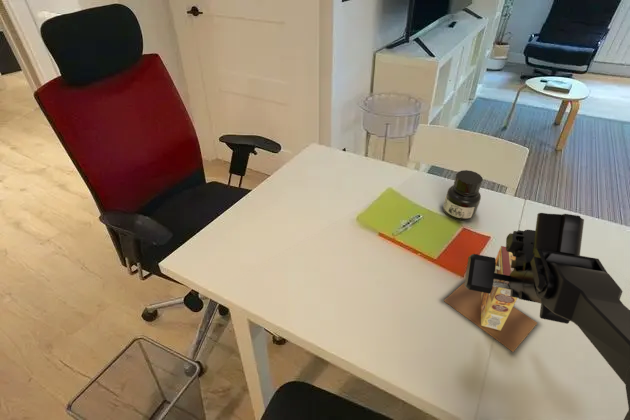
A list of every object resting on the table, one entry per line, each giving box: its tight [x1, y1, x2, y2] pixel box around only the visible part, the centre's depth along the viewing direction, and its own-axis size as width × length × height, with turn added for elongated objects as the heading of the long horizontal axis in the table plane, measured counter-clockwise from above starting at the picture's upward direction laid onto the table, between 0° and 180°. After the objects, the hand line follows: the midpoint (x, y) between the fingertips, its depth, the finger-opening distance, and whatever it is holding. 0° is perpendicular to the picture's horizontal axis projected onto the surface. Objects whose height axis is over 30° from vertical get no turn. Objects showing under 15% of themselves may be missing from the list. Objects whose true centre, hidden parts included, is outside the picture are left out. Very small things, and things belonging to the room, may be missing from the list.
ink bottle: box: [442, 169, 484, 222], centre depth 103 cm, size 10×9×12 cm
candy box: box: [481, 245, 518, 331], centre depth 75 cm, size 9×4×15 cm, turn 161°
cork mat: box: [443, 281, 538, 353], centre depth 80 cm, size 16×10×1 cm, turn 40°
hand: (509, 279), depth 71 cm, fingers open, 9 cm apart
